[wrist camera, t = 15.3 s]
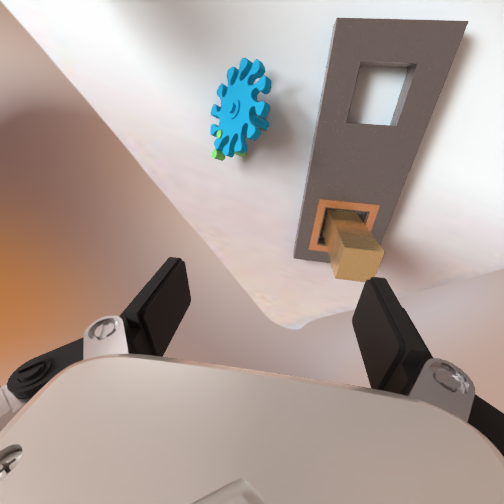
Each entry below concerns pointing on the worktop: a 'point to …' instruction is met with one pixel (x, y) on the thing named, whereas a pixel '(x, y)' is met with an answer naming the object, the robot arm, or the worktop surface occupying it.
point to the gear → (240, 109)
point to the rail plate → (367, 135)
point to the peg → (351, 246)
